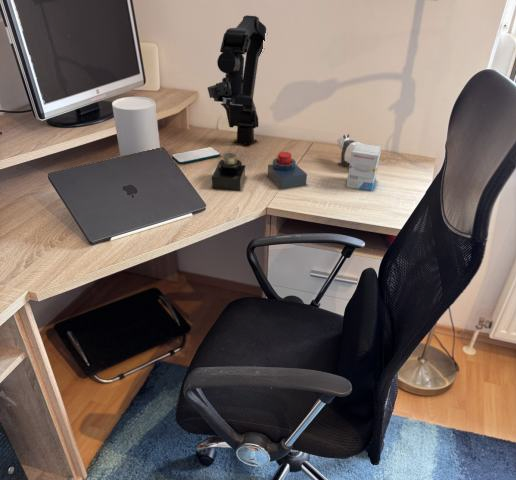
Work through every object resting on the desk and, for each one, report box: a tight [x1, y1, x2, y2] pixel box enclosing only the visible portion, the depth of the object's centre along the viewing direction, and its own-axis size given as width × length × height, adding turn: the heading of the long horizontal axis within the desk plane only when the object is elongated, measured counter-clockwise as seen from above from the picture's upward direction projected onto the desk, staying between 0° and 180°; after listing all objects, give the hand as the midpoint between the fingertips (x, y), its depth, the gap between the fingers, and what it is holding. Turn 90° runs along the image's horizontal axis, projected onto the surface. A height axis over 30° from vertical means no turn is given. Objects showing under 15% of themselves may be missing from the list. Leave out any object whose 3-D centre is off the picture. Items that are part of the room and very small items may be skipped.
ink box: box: [345, 142, 382, 192], centre depth 161 cm, size 8×8×12 cm
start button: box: [277, 151, 292, 165], centre depth 163 cm, size 4×4×3 cm
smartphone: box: [171, 146, 221, 165], centre depth 178 cm, size 8×1×16 cm
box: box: [267, 157, 308, 190], centre depth 164 cm, size 12×9×6 cm
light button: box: [222, 152, 238, 166], centre depth 161 cm, size 4×4×3 cm
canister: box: [111, 96, 161, 157], centre depth 165 cm, size 14×14×20 cm
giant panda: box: [336, 134, 363, 167], centre depth 173 cm, size 15×6×10 cm, turn 29°
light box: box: [211, 159, 246, 192], centre depth 161 cm, size 12×9×6 cm
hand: (231, 127), depth 168 cm, fingers closed
